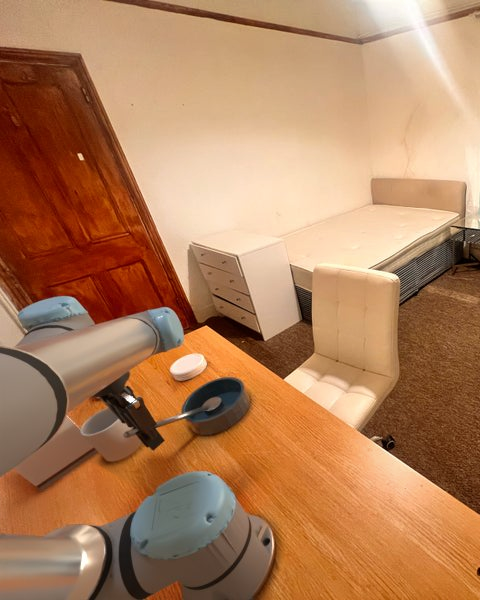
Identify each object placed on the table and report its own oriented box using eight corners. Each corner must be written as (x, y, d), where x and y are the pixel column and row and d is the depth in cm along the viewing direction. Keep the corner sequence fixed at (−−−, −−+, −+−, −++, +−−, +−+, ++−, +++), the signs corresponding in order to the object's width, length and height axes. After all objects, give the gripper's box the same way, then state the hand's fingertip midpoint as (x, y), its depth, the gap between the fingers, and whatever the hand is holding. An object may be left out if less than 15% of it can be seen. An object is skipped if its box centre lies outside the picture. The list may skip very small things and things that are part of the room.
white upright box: (84, 433, 85) (-13, 333, 67) (100, 450, 80) (-1, 347, 62) (28, 469, 77) (-101, 366, 59) (41, 491, 72) (-95, 386, 54)
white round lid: (204, 356, 110) (200, 348, 108) (210, 370, 103) (206, 363, 102) (172, 370, 105) (167, 362, 103) (176, 386, 98) (171, 378, 96)
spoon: (215, 399, 89) (197, 368, 82) (227, 404, 87) (210, 372, 80) (144, 464, 73) (115, 431, 67) (157, 470, 71) (129, 438, 65)
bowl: (218, 444, 79) (209, 429, 76) (178, 426, 85) (168, 412, 82) (262, 398, 91) (256, 384, 88) (224, 385, 97) (217, 371, 94)
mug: (152, 438, 82) (131, 411, 77) (118, 467, 76) (91, 440, 70) (126, 425, 87) (103, 398, 81) (90, 451, 80) (63, 425, 74)
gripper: (140, 365, 61) (190, 439, 73) (98, 350, 66) (152, 422, 78) (96, 393, 55) (159, 468, 67) (54, 375, 60) (119, 448, 72)
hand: (155, 443), depth 72 cm, fingers closed on spoon
